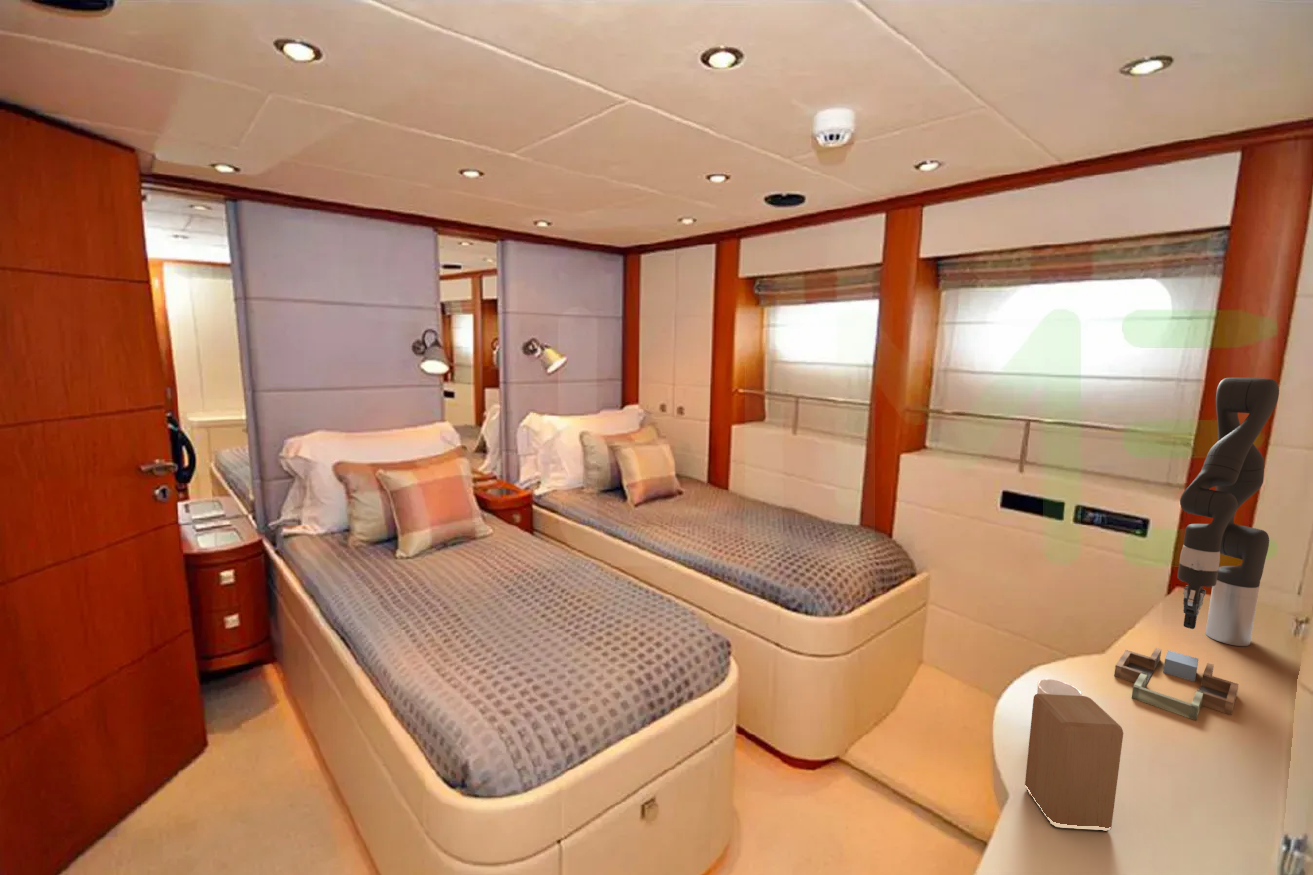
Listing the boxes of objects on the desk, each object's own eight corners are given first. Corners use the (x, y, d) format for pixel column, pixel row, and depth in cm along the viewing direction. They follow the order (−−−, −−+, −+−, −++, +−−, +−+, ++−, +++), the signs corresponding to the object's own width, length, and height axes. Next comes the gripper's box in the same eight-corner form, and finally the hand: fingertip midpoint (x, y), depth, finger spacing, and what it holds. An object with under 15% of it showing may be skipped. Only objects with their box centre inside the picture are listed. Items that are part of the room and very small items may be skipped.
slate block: (1165, 664, 154) (1167, 650, 153) (1196, 673, 150) (1198, 658, 149) (1163, 672, 150) (1165, 658, 149) (1194, 682, 146) (1196, 667, 145)
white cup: (1070, 724, 129) (1074, 682, 128) (1082, 746, 122) (1087, 703, 121) (1029, 717, 132) (1033, 676, 131) (1039, 738, 125) (1043, 695, 123)
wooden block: (1077, 791, 110) (1089, 693, 107) (1113, 834, 100) (1127, 728, 97) (1022, 787, 111) (1031, 690, 108) (1051, 830, 101) (1063, 725, 98)
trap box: (1130, 650, 160) (1132, 640, 160) (1239, 683, 144) (1241, 672, 144) (1105, 688, 143) (1107, 677, 142) (1226, 731, 127) (1228, 718, 126)
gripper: (1183, 555, 159) (1174, 615, 161) (1175, 566, 150) (1165, 629, 153) (1221, 562, 153) (1211, 625, 156) (1215, 574, 144) (1204, 640, 147)
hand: (1189, 627), depth 154 cm, fingers closed
